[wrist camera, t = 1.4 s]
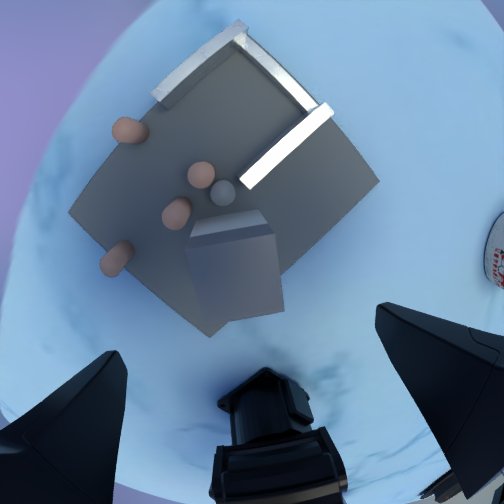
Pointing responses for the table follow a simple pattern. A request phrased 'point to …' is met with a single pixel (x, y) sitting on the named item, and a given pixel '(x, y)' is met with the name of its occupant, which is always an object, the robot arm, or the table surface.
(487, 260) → the teacup with lid
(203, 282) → the block
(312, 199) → the mat
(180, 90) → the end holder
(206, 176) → the pegs
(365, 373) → the table surface
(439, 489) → the casserole
